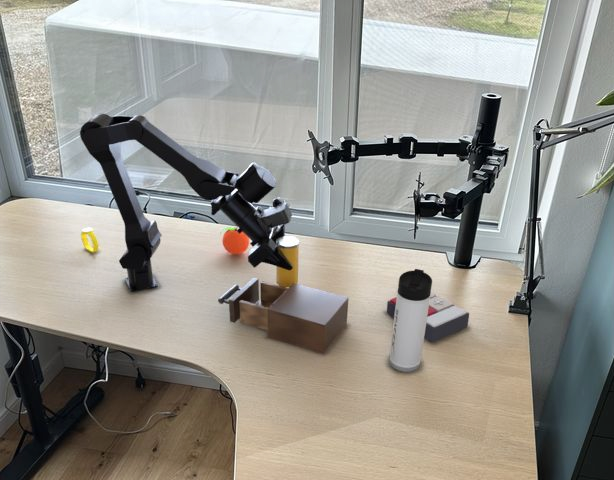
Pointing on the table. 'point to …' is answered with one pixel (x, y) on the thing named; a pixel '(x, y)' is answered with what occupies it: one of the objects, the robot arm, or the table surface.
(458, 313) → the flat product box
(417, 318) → the travel mug
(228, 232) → the clementine
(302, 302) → the cabinet
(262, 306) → the drawer
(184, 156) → the robot arm
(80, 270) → the table surface
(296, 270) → the tin
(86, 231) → the watch
